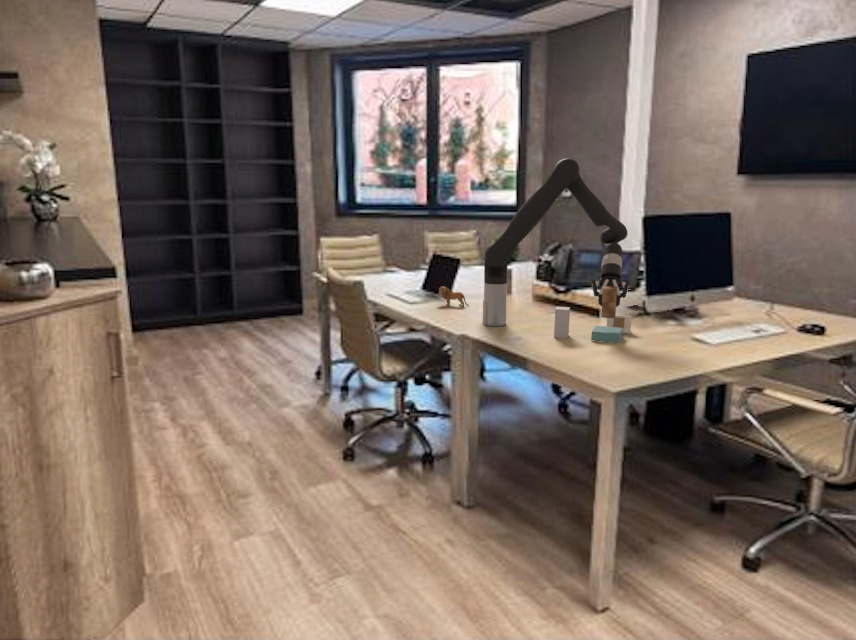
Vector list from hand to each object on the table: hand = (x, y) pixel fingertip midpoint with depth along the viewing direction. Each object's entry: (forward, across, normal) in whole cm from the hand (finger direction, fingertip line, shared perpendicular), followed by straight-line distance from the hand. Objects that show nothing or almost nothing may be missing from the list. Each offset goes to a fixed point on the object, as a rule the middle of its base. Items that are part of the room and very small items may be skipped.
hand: (609, 305), depth 237 cm
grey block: (+9, -17, +10) cm, 22 cm away
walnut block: (+2, 0, +5) cm, 5 cm away
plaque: (0, +4, +19) cm, 20 cm away
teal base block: (+8, 0, +11) cm, 14 cm away
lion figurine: (-23, -71, +42) cm, 85 cm away
